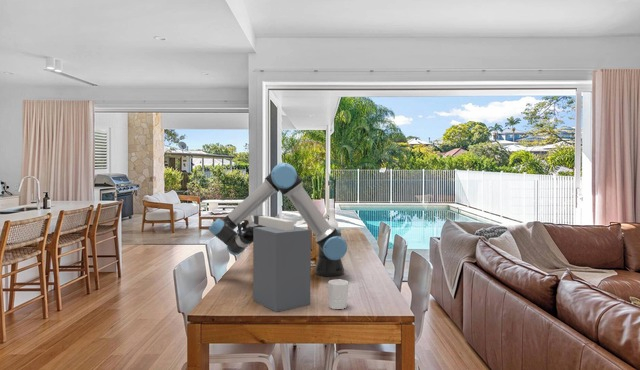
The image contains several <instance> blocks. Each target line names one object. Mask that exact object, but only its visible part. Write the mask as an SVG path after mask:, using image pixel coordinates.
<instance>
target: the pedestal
mask: <svg viewBox="0 0 640 370" xmlns="http://www.w3.org/2000/svg"><path fill="white" fill-rule="evenodd" d="M311 237H312V230H311V229H310V228H309V229H308V228H304V227H298V226H294V230H290V231H284V230H280V229H275V228H271V227H256V228H253V242H252V243H253V244H252V245H253V247H252V251H253V253H252V254H253V256H252V257H253V258H252V261H253V262H252V270H253V271H252V273H253V274H252V278H253V280H252V300H253V301H254V302H255V303H258V304H259V305H261V306H263V307H265V308H267V309H269V310H270V311H272V312H275V313H280V312H283V311H288V310H293V309H297V308H301V307H305V306H310V305H311V268H312V267H311V263H312V262H311V261H312V260H311V259H312V258H311V253H312V250H311V249H312V242H311V241H312V238H311Z"/></svg>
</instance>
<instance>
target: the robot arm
mask: <svg viewBox="0 0 640 370" xmlns="http://www.w3.org/2000/svg"><path fill="white" fill-rule="evenodd" d="M278 192H280V194H281V195H282V196H283V197H287V198H288V199H289V201H290V202H291V203H292V205H293V206H294V208H295V209H296V210H297V212H298V213H299V214H300V216H301V217H302V219H303V220H304V222H305V223H306V225H307V226H308V228H309V230H311V233H313V235H314V236H315V242H316V244H317V246H318V259H317V262H316V264H315V268H314V272H315V274H316V275H317V276H321V277H339V276H343V275H344V274H345V269H344V268H345V267H344V264H343V262H342V258H344V257H345V256H346V254H347V251H348V243H347V242H346V239H345V238H343V237H342V231H341V229H339V228H338V229H336V228H335V227H332V226H330V225H329V224H328V222H327V221H328V220H326V218H325V217H324V215H323V213H322V212H321V211H320V210H319V208H318V207H317V205H316V203H315V202H314V201H313V199H311V197H310V195H309V194H308V192H307V191H306V190H305V187H303V180H302V179H301V177H300V175H299V174H298V173H297V170H296V168H295V167H294V166H293V165H291V163H287V162H281V163H278V164H276V165H275V166H273V168H272V170H271V171H270V173H269V174H268V175H267V176H266V177H265V178H264V181H263V182H262V183H261V184H260V185H259V186H258V187H257V188H256V189H254V190H253V191H251V193H250V194H249V195H248V196H247V197H245V199H244V200H242V201H241V202H240V203H239V204H238V205H237V206H235V208H233V209H232V210H231V211H230V212H229V213H228V214H227V215H226V216H225V217H224V218H222V219H221V218H216V219H215V220H214V221H213V223H212V224H210V226H209V227H208V230H209V232H211V233H212V235H213V236H215V237H216V238H218V239H219V240H220V241H221V242H222V243H224V245H226V249H227V252H228V253H229V254H230V255H233V256H238V255H240V254H241V253H243V252H244V251H245V249H247V248H248V247H249V246H250V245H251V244H252V243H253V228H256V227H266V226H262V225H254V226H251V225H252V224H254V215H251V214H252V213H254V212H255V211H256V210H257V209H258V208H259V207H260V206H261V205H262V204H263V203H265V202H266V201H267V200H268V199H269V198H270V197H272V196H273V195H274V194H275V193H278ZM274 218H280V219H282V215H281V213H277V215H275V216H274ZM236 228H237V230H236V231H235V229H236ZM342 274H343V275H342ZM338 275H339V276H338Z"/></svg>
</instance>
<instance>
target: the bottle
mask: <svg viewBox="0 0 640 370" xmlns="http://www.w3.org/2000/svg"><path fill="white" fill-rule="evenodd" d="M326 221H327V222H328V224H329V225H330V226H332V227H335V228H336V229H339V223H338V220H336V208H334V207H329V210H328V220H326Z"/></svg>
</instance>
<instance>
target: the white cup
mask: <svg viewBox="0 0 640 370" xmlns="http://www.w3.org/2000/svg"><path fill="white" fill-rule="evenodd" d="M327 282H328V284H327V285H328V287H327V288H328V302H329V303H328V304H329V308H330V309H331V308H332V309H331V310H335V309H342V310H345V309H347V306H348V295H349V294H348V293H349V281H348V280H346V279H331V280H329V281H327ZM344 308H345V309H344Z"/></svg>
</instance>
